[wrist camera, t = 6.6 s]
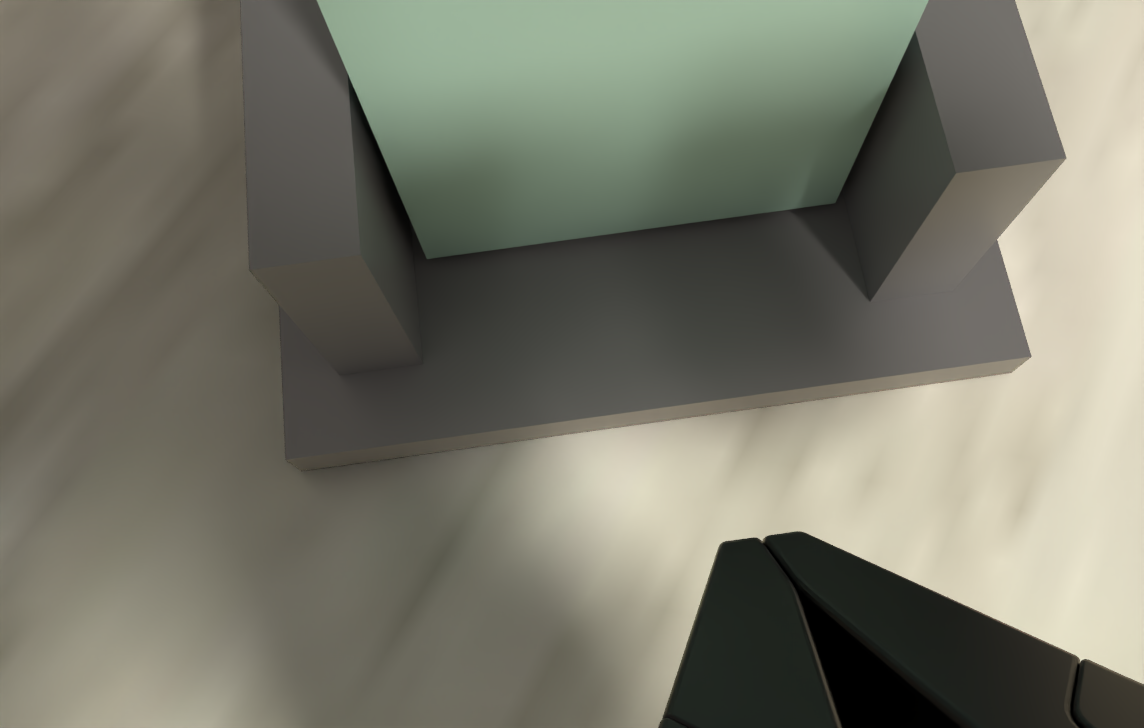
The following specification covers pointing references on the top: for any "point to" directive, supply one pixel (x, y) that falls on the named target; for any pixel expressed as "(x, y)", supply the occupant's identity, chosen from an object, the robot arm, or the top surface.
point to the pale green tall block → (614, 108)
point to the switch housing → (636, 265)
